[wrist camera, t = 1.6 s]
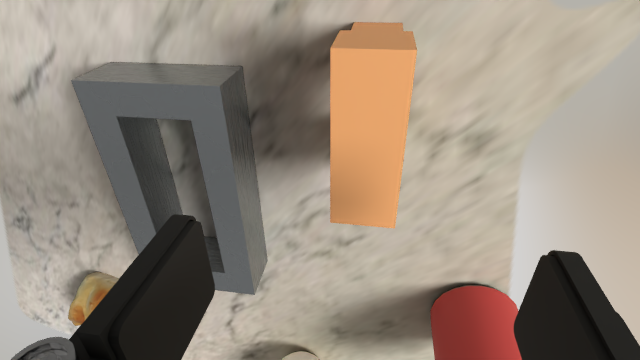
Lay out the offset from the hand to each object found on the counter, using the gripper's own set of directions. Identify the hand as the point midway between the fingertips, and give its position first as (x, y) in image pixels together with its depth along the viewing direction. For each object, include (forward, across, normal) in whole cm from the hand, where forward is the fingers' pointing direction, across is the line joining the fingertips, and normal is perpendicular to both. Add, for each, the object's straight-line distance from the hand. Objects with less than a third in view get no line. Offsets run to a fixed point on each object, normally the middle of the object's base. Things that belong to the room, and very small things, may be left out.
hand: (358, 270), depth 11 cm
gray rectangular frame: (+14, +12, +6) cm, 19 cm away
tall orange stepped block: (+14, 0, -1) cm, 14 cm away
